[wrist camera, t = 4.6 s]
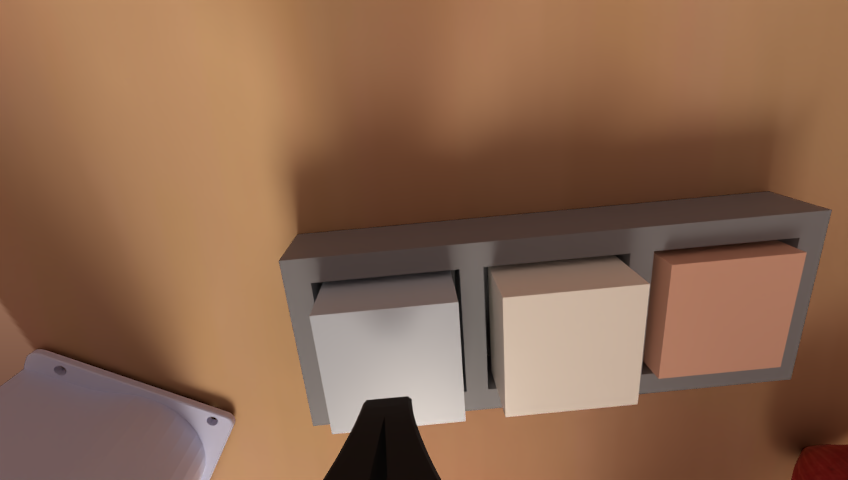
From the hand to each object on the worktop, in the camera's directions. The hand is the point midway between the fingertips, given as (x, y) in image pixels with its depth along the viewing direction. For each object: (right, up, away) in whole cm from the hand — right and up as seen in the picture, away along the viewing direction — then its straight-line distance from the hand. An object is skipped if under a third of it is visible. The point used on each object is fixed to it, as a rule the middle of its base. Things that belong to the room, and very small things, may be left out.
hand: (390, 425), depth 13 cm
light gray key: (0, +2, +5) cm, 6 cm away
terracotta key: (+13, +3, +7) cm, 15 cm away
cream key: (+6, +2, +5) cm, 8 cm away
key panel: (+6, +3, +7) cm, 10 cm away
